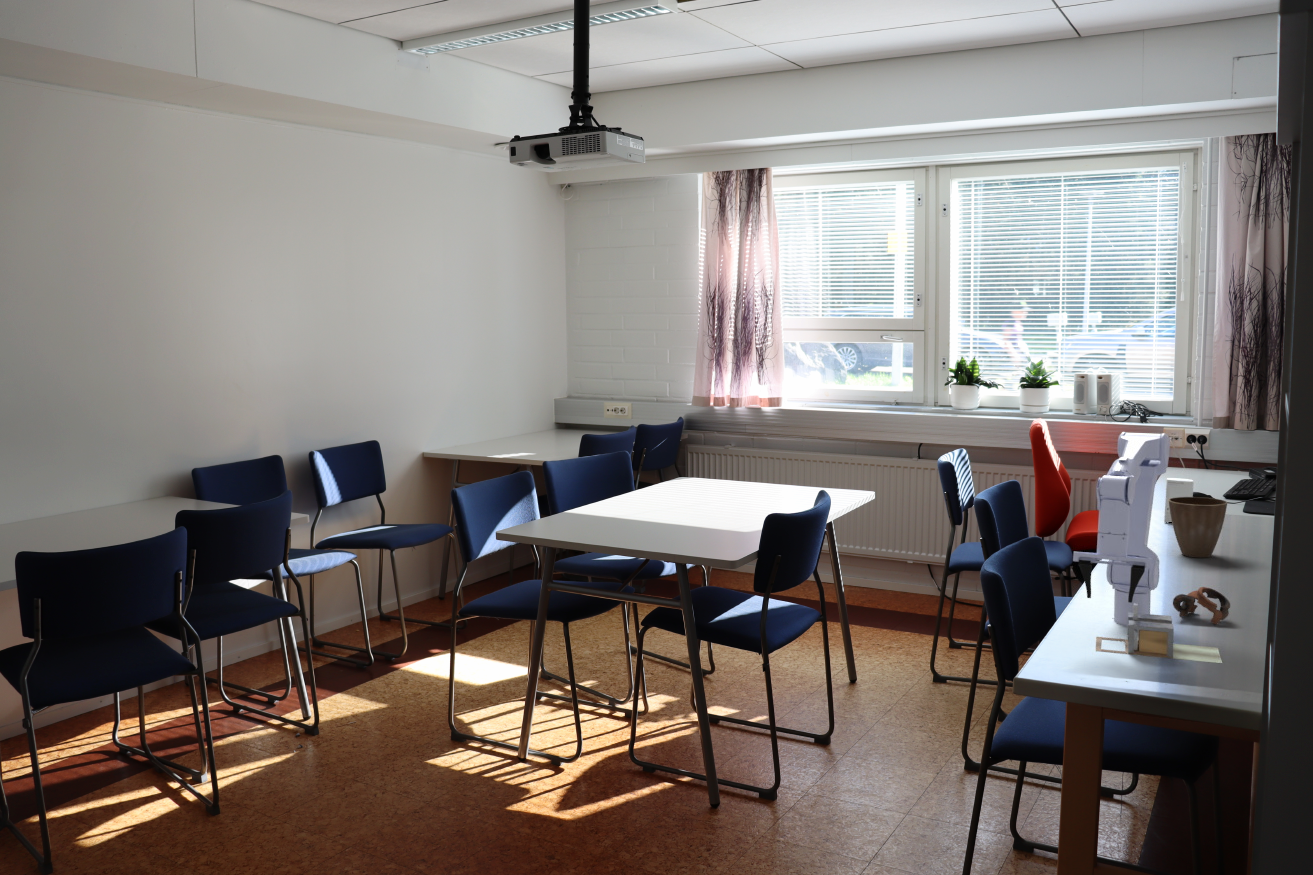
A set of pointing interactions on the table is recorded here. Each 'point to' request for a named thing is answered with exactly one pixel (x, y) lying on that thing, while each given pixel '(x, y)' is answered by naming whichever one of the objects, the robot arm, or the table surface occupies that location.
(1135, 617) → the paddle
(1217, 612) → the brown headphones
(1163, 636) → the block
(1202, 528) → the plant pot
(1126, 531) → the robot arm
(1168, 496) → the skincare box
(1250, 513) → the table surface
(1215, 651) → the board
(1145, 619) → the tunnel
